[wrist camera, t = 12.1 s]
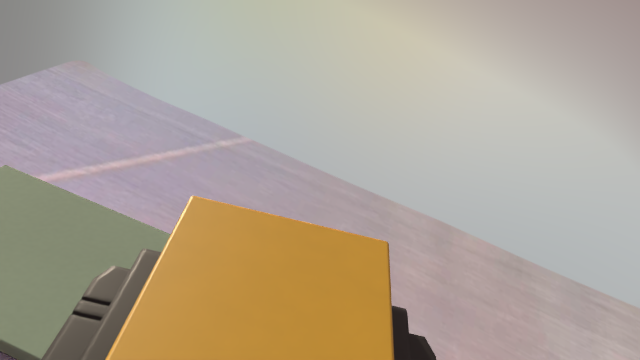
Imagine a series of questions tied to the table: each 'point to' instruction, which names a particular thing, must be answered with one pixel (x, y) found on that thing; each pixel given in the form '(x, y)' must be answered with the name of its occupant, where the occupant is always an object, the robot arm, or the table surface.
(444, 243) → the table surface
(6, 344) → the mat
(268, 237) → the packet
